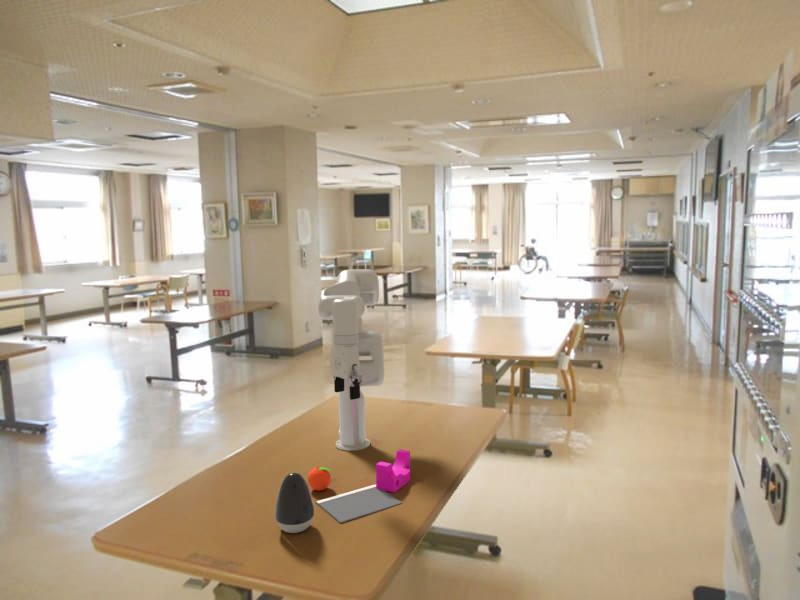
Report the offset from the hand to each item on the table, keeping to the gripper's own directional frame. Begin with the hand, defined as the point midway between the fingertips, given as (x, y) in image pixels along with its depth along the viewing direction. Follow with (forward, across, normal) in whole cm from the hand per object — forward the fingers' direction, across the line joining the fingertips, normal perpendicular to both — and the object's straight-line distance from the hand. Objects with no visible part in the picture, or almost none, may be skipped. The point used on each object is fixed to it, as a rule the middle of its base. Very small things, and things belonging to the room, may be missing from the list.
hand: (347, 395), depth 181 cm
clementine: (+28, -2, -9) cm, 30 cm away
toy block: (+28, +7, +13) cm, 32 cm away
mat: (+28, +13, -4) cm, 31 cm away
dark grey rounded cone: (+28, +16, -25) cm, 41 cm away
